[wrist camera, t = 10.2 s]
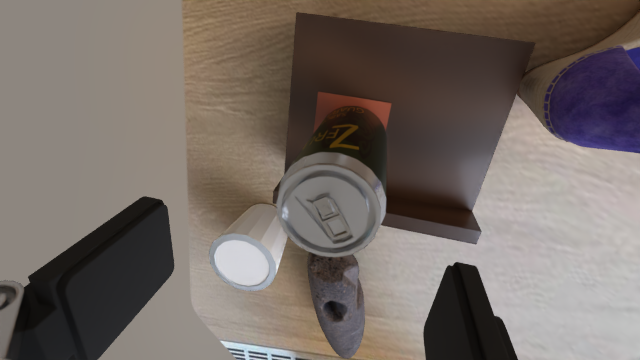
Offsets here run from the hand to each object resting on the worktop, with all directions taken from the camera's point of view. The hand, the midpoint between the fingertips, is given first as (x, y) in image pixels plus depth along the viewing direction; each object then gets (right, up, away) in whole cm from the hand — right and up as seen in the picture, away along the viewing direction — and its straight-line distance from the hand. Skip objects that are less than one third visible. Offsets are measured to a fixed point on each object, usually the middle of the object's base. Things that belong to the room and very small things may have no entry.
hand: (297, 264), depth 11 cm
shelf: (+7, +9, +19) cm, 22 cm away
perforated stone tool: (+4, -10, +28) cm, 30 cm away
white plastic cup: (-5, -2, +27) cm, 27 cm away
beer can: (+3, +6, +15) cm, 17 cm away
